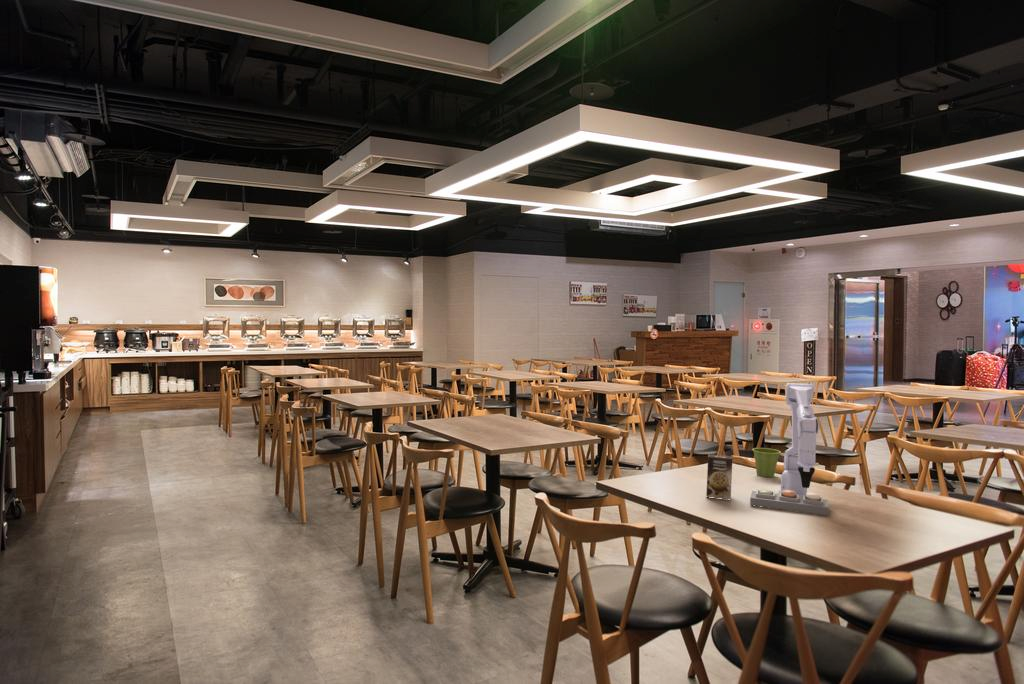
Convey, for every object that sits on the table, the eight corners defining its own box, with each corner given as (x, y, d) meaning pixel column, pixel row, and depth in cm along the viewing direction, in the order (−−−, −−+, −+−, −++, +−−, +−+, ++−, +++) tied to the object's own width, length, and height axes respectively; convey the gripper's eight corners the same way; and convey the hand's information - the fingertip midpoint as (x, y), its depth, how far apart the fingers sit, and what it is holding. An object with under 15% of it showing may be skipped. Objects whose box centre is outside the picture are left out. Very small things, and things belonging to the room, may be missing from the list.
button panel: (750, 505, 235) (750, 494, 235) (751, 498, 245) (752, 487, 245) (828, 515, 224) (829, 504, 224) (827, 507, 234) (827, 496, 234)
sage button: (758, 495, 237) (759, 491, 237) (759, 493, 241) (759, 489, 241) (771, 497, 235) (771, 493, 235) (772, 494, 239) (772, 490, 239)
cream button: (806, 499, 230) (806, 495, 230) (806, 496, 234) (806, 492, 234) (819, 500, 228) (820, 496, 228) (819, 497, 232) (819, 493, 232)
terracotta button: (782, 496, 233) (782, 492, 233) (782, 493, 237) (782, 489, 237) (795, 497, 231) (795, 493, 231) (795, 494, 235) (795, 490, 235)
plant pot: (777, 480, 274) (778, 454, 274) (749, 476, 281) (749, 450, 280) (782, 474, 285) (783, 449, 284) (754, 471, 291) (755, 446, 290)
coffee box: (706, 498, 244) (707, 456, 243) (706, 494, 250) (707, 453, 249) (731, 501, 241) (732, 458, 240) (731, 496, 247) (732, 455, 246)
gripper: (819, 455, 223) (818, 493, 224) (818, 448, 236) (817, 484, 237) (797, 453, 226) (796, 490, 227) (798, 446, 239) (796, 481, 240)
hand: (805, 487), depth 232 cm, fingers closed
